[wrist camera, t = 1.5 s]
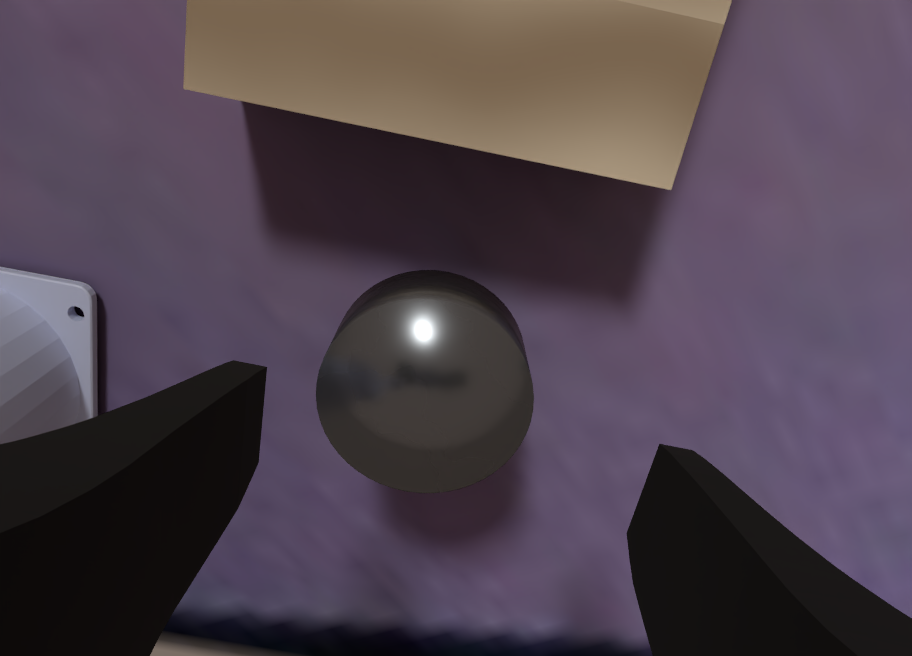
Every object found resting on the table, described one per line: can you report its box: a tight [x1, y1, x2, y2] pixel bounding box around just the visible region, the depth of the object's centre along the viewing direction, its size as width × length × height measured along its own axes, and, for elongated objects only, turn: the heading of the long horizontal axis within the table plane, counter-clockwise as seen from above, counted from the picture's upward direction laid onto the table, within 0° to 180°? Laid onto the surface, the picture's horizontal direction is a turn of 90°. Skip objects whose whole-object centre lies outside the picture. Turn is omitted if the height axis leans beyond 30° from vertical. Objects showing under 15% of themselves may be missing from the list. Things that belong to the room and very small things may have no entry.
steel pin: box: [316, 270, 534, 493], centre depth 19 cm, size 5×5×6 cm
